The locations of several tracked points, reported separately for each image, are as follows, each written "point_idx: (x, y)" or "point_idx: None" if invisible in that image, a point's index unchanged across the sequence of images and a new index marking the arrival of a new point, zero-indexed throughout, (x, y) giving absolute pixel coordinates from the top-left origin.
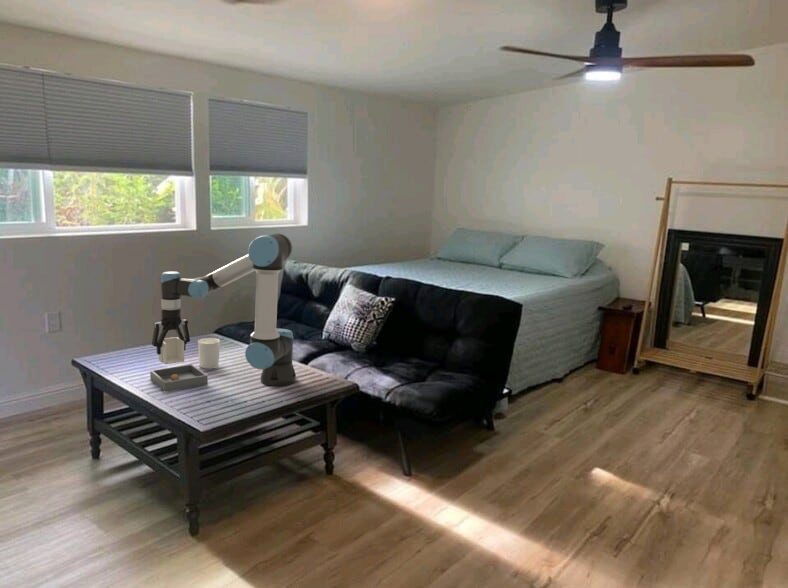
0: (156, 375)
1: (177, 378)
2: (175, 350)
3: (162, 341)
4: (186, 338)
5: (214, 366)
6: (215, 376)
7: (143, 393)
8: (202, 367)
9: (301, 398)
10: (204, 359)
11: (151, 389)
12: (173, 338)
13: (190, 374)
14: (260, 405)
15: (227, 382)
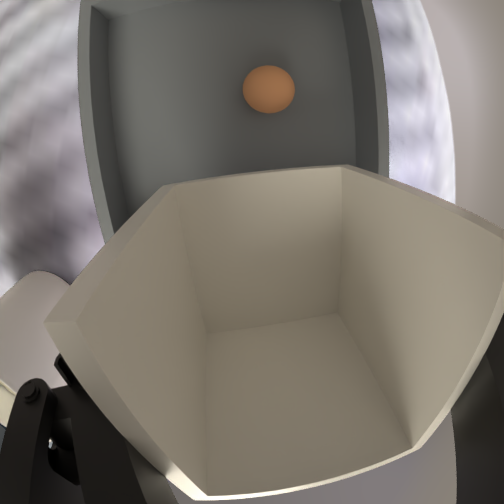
0: (386, 119)
1: (255, 68)
2: (213, 369)
3: (495, 359)
4: (69, 449)
5: (27, 274)
6: (33, 134)
7: (423, 48)
8: None
9: None
10: (45, 307)
11: (391, 68)
12: (245, 486)
13: (141, 180)
14: None
15: (23, 36)
